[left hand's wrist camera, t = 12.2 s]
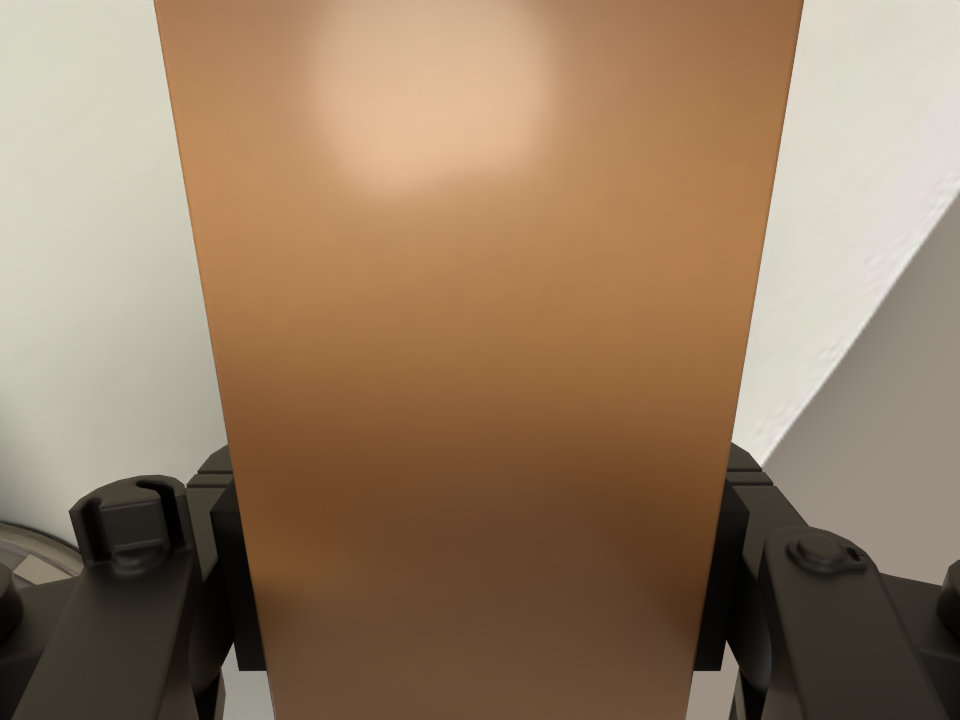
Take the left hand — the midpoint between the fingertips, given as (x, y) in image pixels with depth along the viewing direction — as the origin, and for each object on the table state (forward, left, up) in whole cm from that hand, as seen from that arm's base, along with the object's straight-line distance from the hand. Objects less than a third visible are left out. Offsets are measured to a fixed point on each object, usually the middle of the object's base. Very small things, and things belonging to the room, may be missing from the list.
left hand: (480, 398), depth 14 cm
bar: (+29, +13, -1) cm, 32 cm away
